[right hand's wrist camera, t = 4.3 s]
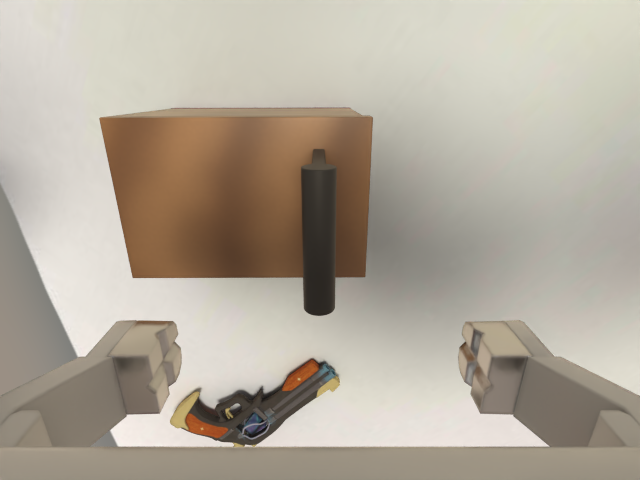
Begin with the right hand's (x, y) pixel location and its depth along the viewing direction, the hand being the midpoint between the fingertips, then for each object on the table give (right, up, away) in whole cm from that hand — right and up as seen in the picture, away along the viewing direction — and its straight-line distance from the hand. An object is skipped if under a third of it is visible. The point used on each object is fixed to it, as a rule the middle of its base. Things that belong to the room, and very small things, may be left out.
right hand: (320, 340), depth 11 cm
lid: (-5, +6, +14) cm, 16 cm away
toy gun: (-8, -15, +34) cm, 38 cm away
